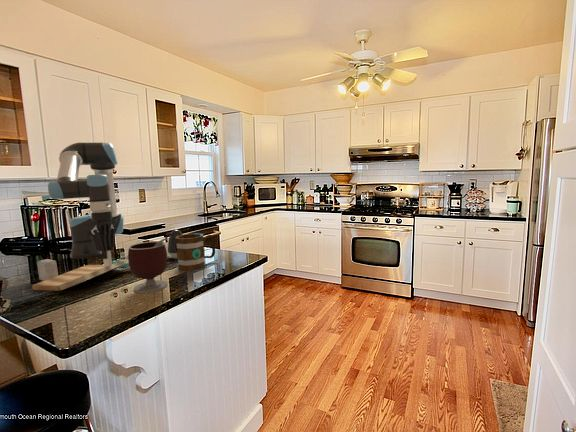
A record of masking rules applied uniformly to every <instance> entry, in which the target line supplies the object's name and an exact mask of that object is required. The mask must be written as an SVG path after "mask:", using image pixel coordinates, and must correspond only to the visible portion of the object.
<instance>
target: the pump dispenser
mask: <svg viewBox="0 0 576 432" xmlns="http://www.w3.org/2000/svg"><path fill="white" fill-rule="evenodd" d="M165 235H167V236H169V237H168V239H167V240H168V242H167V254H168V255H169V256H170V258H172V259H178V257H177V243H176V236H180V235H184V234H183V233H182V231H181V230H179V229H174V230H172V231H171V232H166V234H165Z"/></svg>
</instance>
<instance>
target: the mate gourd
mask: <svg viewBox="0 0 576 432" xmlns="http://www.w3.org/2000/svg"><path fill="white" fill-rule="evenodd" d="M166 240H168V238H167V237H165V238H162V239H160V240H158V241H145V242H139V243H135V244H131V245H129V247H128V253H127V254H128V255H127V258H128V261H129V270H130V271H131V273H132V274H133V275H134V276H135V277H136V278H139V279H144V280H146V281H145V282H141V283H140V284H137V285H135V286H134V287H133V291H134V292H135V293H138V294H149V293H154V292H159V291H162V290H163V289H165V288H167V287H168V285H169V284H168V282H167V281H166V280H160V279H158V280H155V279H156V277H158V276H160V275H162V274H163V273H164V272H165V270H166V268H167V265H168V250H167V246H166V245H165V242H164V241H166Z"/></svg>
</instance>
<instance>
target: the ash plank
mask: <svg viewBox="0 0 576 432" xmlns="http://www.w3.org/2000/svg"><path fill="white" fill-rule="evenodd" d="M120 260H121V259H120ZM128 262H129V261H128V257H127V258H124V259H122V260H121V261H119V262H116V263H114V264H112V265H111V266H106V267H104V268H101V269H99V270H96V271H94V272H91V273H89V274H87V275H84V276H82V277H79V278H77V279H74V280H72V281H69V282H67V283H65V284H62V285H60V286H59V288H60V290H59V291H64V290H65V289H68V288H71V287H74V286H77V285H79V284H81V283H83V282H86V281H87V280H91V279H93V278H96V277H98V276H100V275H103V274H104V273H107V272H109V271H111V270H113V269H116V268H118V267H120V266H121V265H123V264H125V263H128Z"/></svg>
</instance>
